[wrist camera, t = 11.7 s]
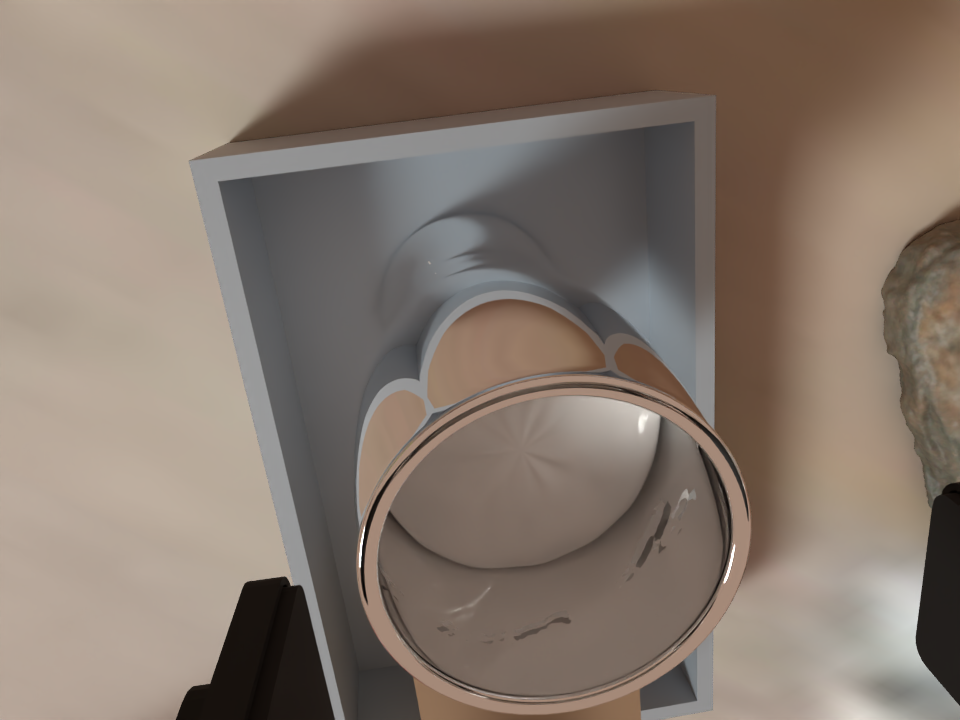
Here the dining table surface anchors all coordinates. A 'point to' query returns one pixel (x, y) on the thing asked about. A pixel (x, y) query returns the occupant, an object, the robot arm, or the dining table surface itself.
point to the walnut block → (450, 716)
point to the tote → (359, 319)
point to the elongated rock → (928, 349)
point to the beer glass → (533, 484)
